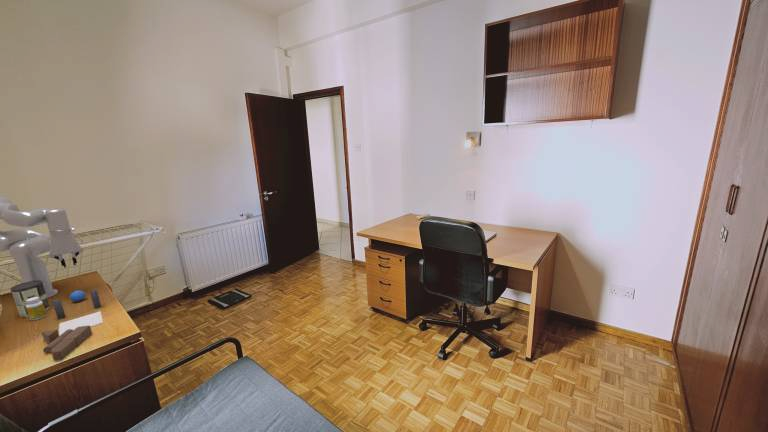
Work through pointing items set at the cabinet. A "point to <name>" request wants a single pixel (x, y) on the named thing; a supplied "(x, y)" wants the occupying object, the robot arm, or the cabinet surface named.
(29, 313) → the supplement bottle
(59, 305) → the post
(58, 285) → the cabinet surface
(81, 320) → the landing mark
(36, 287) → the coffee can
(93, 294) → the post
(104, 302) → the cabinet surface
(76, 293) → the ball
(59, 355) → the wooden block set
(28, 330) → the cabinet surface
